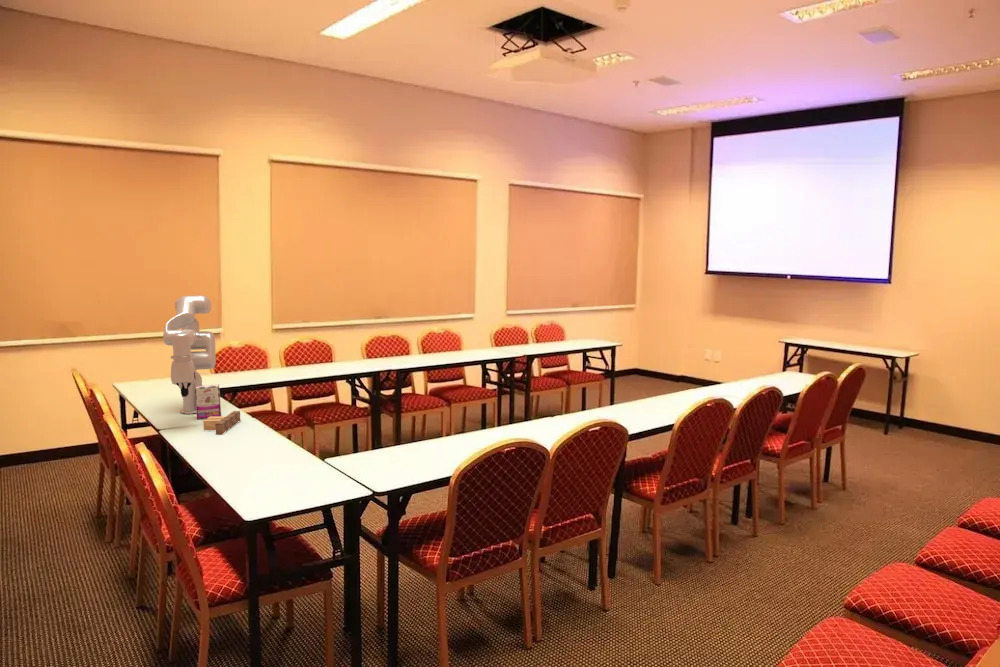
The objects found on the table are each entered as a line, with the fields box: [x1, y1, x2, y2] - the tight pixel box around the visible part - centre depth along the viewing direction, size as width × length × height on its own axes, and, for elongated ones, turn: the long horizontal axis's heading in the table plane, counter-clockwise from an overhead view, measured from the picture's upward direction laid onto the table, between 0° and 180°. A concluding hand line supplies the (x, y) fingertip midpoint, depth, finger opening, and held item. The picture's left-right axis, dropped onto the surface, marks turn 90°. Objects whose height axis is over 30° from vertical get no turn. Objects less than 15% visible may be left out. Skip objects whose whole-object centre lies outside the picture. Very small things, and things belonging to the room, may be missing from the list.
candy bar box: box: [195, 384, 222, 420], centre depth 335 cm, size 11×5×16 cm, turn 112°
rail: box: [215, 410, 241, 435], centre depth 317 cm, size 24×3×5 cm, turn 3°
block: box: [202, 415, 227, 431], centre depth 315 cm, size 8×8×5 cm
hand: (184, 395), depth 316 cm, fingers closed
